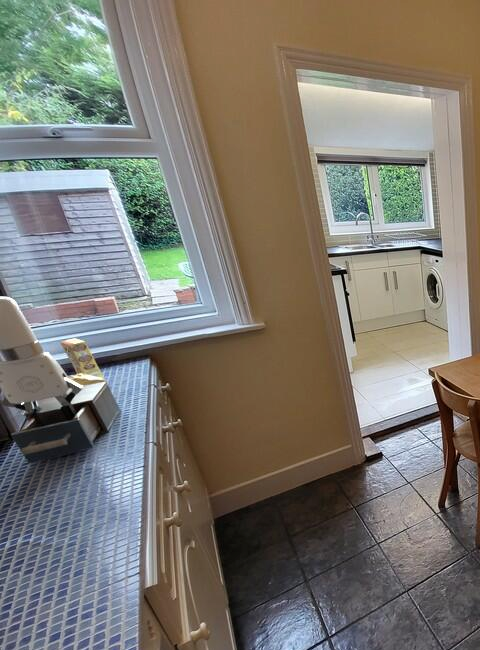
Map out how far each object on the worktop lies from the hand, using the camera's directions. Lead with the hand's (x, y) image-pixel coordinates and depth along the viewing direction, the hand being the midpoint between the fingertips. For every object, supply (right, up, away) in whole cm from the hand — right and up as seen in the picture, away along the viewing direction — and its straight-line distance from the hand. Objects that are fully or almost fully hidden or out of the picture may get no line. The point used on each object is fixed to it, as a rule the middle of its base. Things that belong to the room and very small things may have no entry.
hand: (59, 420), depth 101 cm
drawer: (+2, -7, 0) cm, 7 cm away
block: (0, 0, 0) cm, 0 cm away
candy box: (-33, +9, +41) cm, 54 cm away
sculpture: (-16, +2, +23) cm, 28 cm away
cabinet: (-6, -3, +12) cm, 13 cm away
